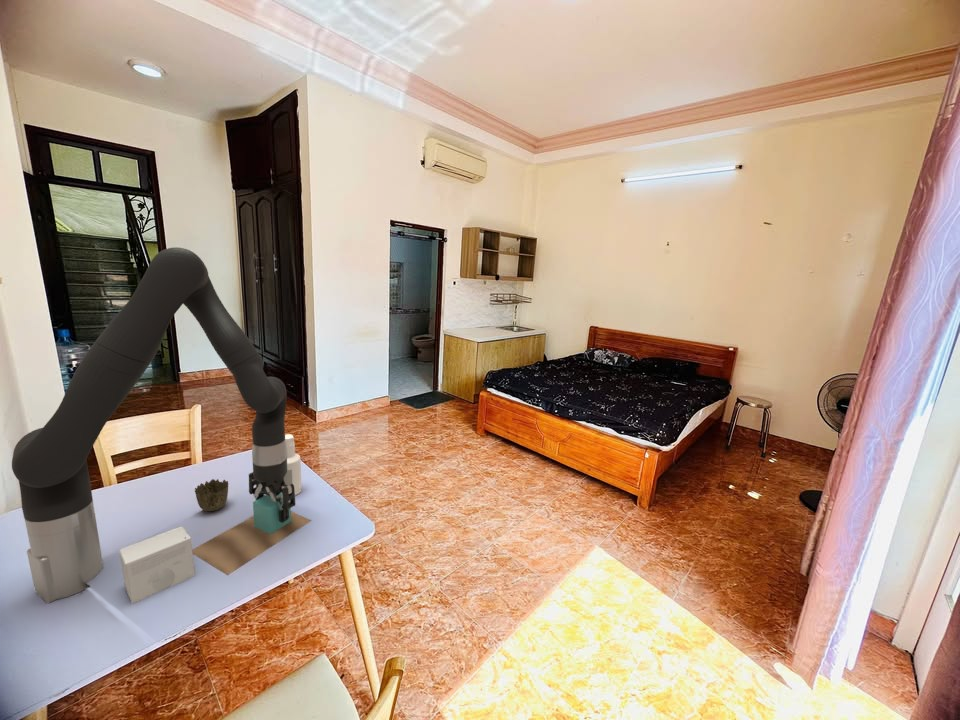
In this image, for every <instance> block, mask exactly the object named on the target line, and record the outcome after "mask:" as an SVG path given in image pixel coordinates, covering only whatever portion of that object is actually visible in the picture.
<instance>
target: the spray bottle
mask: <svg viewBox="0 0 960 720" xmlns="http://www.w3.org/2000/svg"><path fill="white" fill-rule="evenodd" d="M294 439H295V438H294V436H293V434H291V433H290V434H289V433H288V434H285V442H286V447H287V473H286V475H285V477H284V481H285V484H286V485H290V484H293V485H294V491H295V496H297V495H299V494H300V493H301V492H302V464H301V462H302V460H301V456H300V454H298V453H296V446H295V441H294ZM281 493H282V492H281Z"/></svg>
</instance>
